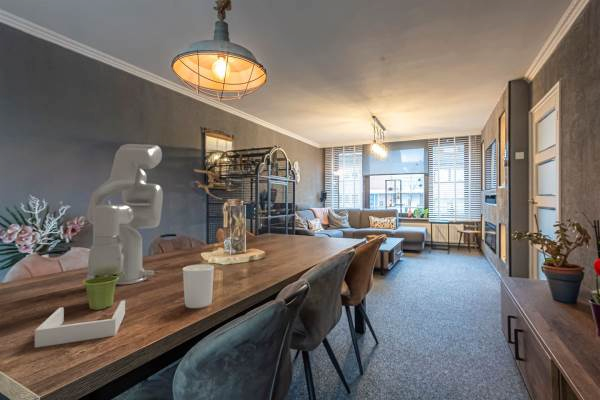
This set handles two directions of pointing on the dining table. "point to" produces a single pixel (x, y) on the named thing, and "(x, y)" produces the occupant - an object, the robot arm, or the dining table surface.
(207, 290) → the candle holder
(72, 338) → the box
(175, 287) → the dining table surface
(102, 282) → the plant pot
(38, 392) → the dining table surface
